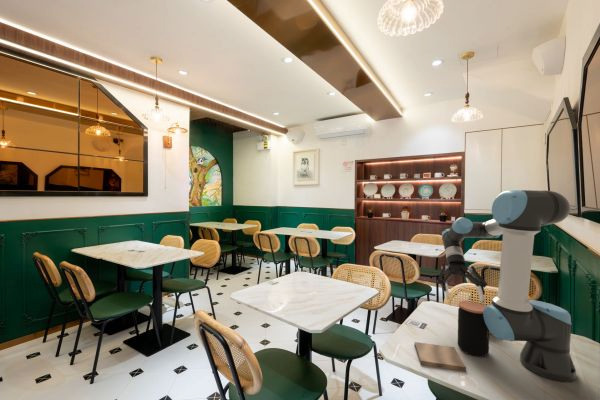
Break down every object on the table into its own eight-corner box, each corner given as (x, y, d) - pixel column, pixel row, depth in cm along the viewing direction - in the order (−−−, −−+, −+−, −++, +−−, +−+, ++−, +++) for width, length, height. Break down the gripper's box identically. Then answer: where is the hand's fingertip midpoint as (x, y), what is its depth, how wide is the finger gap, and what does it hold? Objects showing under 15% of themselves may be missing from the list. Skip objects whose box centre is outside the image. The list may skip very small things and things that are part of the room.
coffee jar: (494, 359, 104) (495, 312, 104) (463, 355, 106) (464, 310, 106) (481, 344, 115) (482, 301, 114) (453, 341, 117) (454, 299, 116)
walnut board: (454, 350, 110) (454, 347, 110) (466, 371, 97) (466, 367, 97) (414, 345, 113) (414, 341, 113) (420, 364, 101) (420, 360, 100)
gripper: (481, 263, 133) (494, 306, 119) (426, 260, 139) (432, 300, 125) (486, 255, 128) (501, 298, 114) (428, 251, 134) (435, 293, 119)
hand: (465, 299), depth 119 cm, fingers open, 13 cm apart
